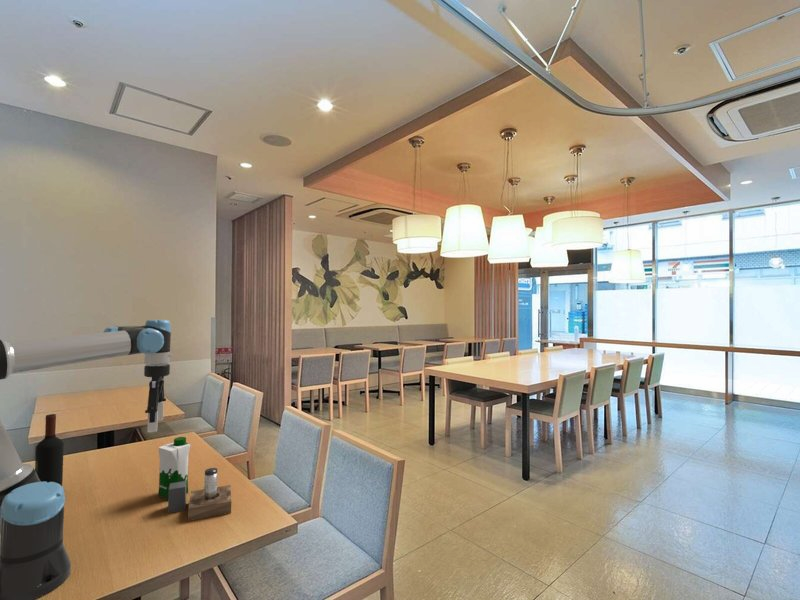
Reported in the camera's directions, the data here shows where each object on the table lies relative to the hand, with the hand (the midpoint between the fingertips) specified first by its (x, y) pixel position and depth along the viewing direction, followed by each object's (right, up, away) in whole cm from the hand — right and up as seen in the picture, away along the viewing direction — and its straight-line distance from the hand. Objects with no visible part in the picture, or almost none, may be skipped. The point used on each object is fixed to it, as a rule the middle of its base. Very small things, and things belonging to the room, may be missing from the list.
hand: (155, 426), depth 135 cm
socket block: (+18, -29, +2) cm, 34 cm away
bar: (+7, -29, +1) cm, 30 cm away
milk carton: (0, -29, +11) cm, 31 cm away
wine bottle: (-42, -28, +6) cm, 51 cm away
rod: (+18, -29, +2) cm, 34 cm away
